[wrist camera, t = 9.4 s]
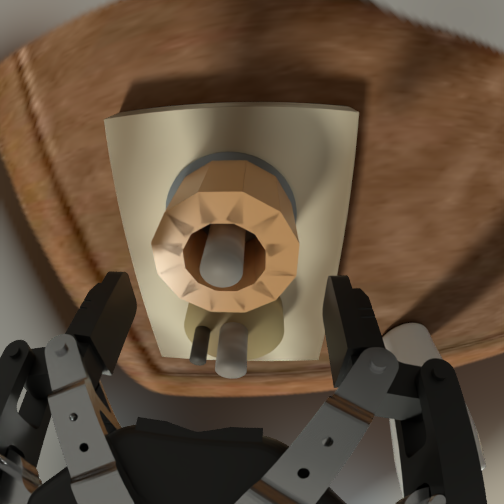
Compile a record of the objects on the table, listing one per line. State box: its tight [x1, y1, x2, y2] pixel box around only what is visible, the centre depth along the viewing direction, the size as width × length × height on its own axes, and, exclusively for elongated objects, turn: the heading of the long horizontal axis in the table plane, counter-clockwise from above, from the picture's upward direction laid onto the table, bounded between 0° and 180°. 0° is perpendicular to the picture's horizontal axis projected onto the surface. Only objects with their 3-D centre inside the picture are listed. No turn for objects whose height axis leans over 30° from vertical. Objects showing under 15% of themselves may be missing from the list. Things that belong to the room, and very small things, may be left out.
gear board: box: [104, 102, 359, 378], centre depth 18 cm, size 13×19×7 cm
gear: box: [151, 160, 299, 312], centre depth 15 cm, size 6×6×4 cm
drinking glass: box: [382, 323, 486, 498], centre depth 20 cm, size 7×7×15 cm
